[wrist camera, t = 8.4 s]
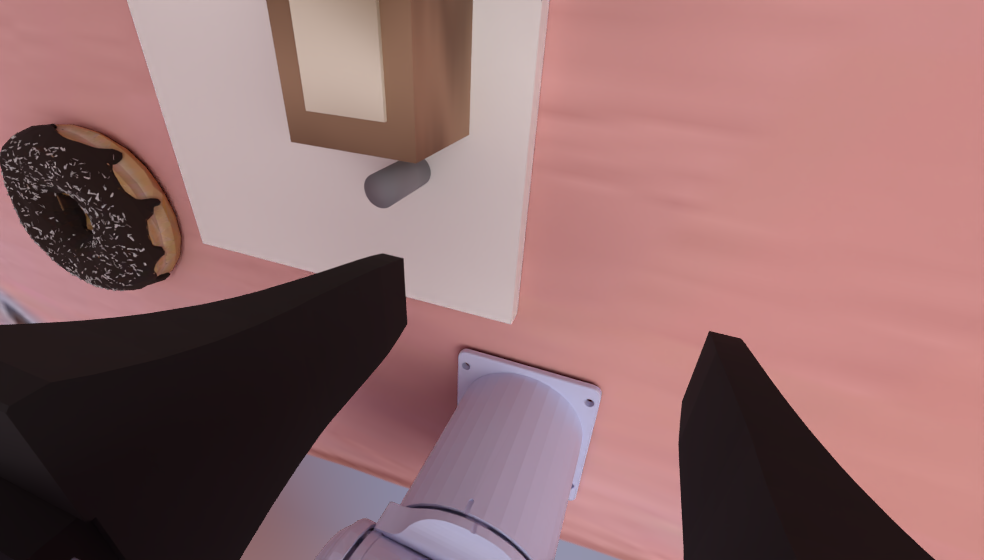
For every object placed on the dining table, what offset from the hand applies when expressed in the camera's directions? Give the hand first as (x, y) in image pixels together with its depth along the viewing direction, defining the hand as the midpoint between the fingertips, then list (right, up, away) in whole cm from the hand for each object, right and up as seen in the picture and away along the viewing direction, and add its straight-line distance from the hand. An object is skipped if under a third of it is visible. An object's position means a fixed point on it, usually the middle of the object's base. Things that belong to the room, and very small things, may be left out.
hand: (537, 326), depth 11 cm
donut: (-26, +6, +20) cm, 33 cm away
